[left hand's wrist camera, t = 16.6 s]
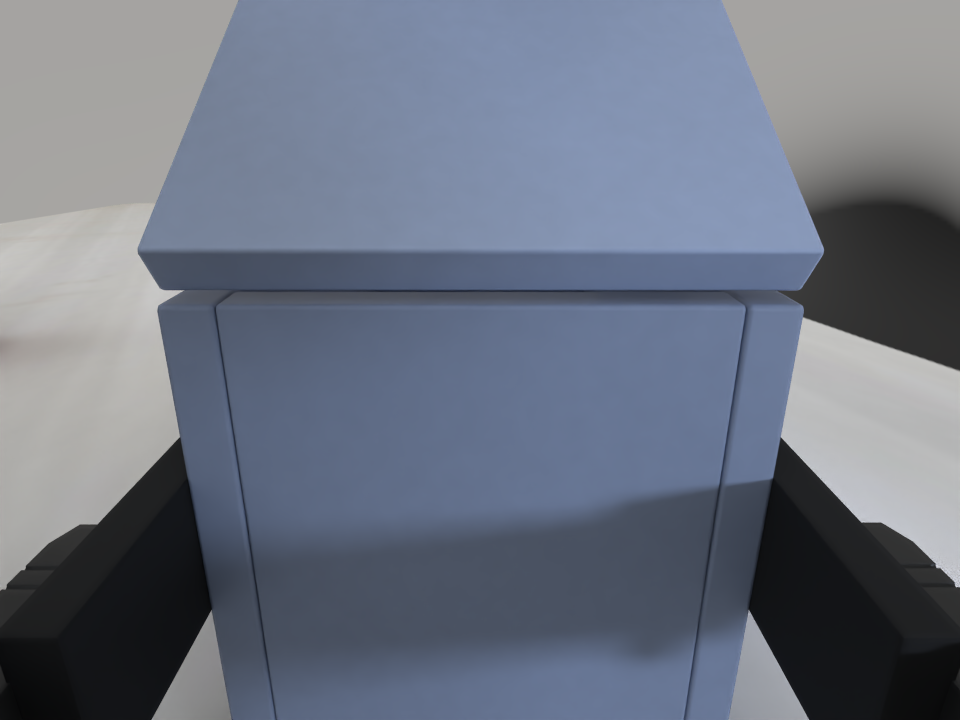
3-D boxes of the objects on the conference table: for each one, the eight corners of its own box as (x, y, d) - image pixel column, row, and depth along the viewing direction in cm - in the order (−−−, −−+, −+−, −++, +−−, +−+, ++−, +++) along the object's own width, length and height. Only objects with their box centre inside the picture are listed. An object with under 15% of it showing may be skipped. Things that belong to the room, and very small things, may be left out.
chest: (367, 455, 28) (349, 193, 24) (590, 454, 28) (609, 194, 24) (247, 817, 13) (153, 305, 9) (712, 816, 13) (808, 305, 9)
